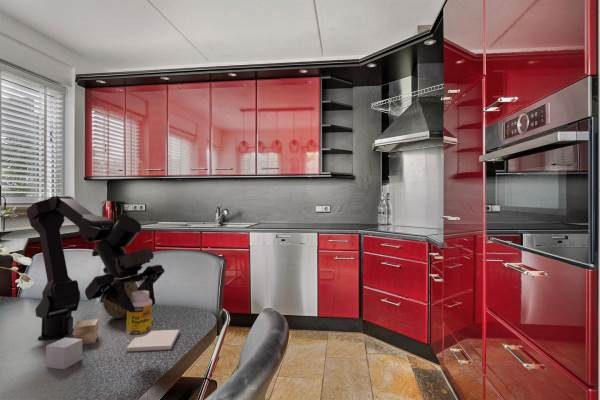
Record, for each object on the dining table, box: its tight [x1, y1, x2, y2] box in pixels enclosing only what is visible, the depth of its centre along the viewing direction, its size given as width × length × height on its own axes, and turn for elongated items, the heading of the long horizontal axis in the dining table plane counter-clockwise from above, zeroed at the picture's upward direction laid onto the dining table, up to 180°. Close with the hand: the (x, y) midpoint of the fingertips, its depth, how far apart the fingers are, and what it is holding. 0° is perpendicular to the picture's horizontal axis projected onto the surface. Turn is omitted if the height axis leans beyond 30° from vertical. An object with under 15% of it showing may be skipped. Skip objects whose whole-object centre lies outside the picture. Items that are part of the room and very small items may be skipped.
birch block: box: [73, 318, 99, 345], centre depth 91 cm, size 5×5×5 cm
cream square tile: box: [126, 329, 180, 352], centre depth 91 cm, size 11×11×1 cm
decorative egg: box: [102, 282, 139, 320], centre depth 109 cm, size 11×11×15 cm
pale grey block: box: [45, 336, 83, 370], centre depth 78 cm, size 5×5×5 cm
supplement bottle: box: [125, 291, 153, 339], centre depth 80 cm, size 6×6×10 cm
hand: (143, 307), depth 80 cm, fingers closed on supplement bottle, 5 cm apart
